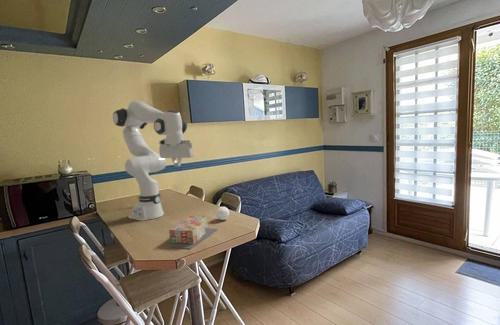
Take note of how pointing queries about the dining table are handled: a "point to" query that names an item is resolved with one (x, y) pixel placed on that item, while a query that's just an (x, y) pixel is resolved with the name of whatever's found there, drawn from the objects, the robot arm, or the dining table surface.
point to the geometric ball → (222, 213)
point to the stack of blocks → (188, 230)
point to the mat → (188, 246)
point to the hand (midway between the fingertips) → (177, 166)
